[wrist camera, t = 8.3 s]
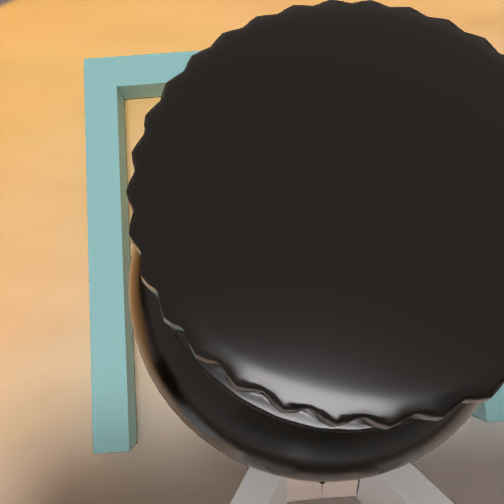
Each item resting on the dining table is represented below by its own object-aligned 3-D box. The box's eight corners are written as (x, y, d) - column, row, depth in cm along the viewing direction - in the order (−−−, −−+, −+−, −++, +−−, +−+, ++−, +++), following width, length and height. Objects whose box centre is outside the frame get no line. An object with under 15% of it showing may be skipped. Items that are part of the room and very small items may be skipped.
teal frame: (449, 47, 18) (461, 32, 17) (505, 413, 16) (522, 419, 15) (93, 73, 18) (83, 58, 17) (103, 445, 16) (93, 453, 15)
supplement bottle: (355, 228, 17) (557, -109, 6) (409, 414, 15) (899, 474, 4) (177, 262, 17) (10, -23, 5) (208, 458, 15) (43, 681, 3)
